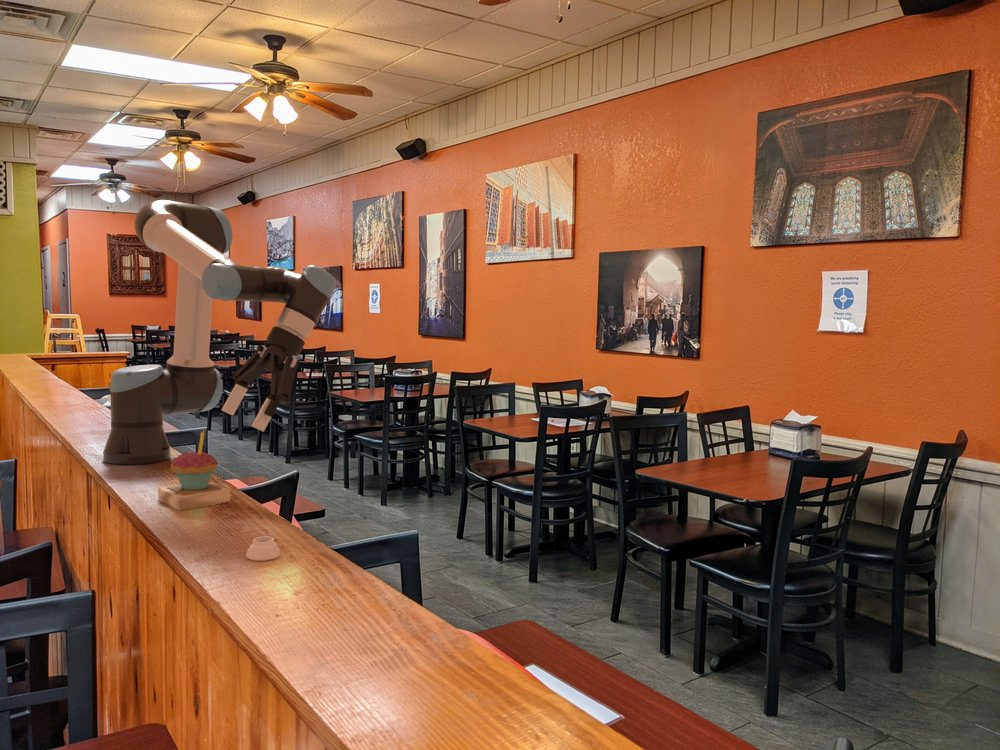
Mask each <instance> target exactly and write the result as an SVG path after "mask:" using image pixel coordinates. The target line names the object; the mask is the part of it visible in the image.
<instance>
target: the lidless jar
mask: <svg viewBox="0 0 1000 750" xmlns="http://www.w3.org/2000/svg"><path fill="white" fill-rule="evenodd" d="M279 556H281V550H280V549H279V546H278V544H277V542H275V539H274V537H272V536H268V535H266V536H257V537H255V538H253V540H252V543H251V544H250V545H249V547H248V549H247V551H246V555H245V557H246V558H247V559H249V560H251V561H255V562H267V561H272V560H274V559H277V558H278V557H279Z"/></svg>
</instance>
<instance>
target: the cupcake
mask: <svg viewBox="0 0 1000 750" xmlns="http://www.w3.org/2000/svg"><path fill="white" fill-rule="evenodd" d="M204 439H205V428H203V429H202V431H201V432H200V438H199V443H198V450H197V452H196V451H195V452H194V451H193V452H185V453H181V454H180V455H178V456H177V457H175V458H174V459H173V460H172V461H171V465H170V471H171V472H172V473H175V474H176V476H177V478H178V480H179V484H180V485H181V487H182V489H185V490H199V489H204V488H207V487H208V483H209V482H210V480H211V477H212V475H213V473H214V471H216V470H217V467H218V466H217V465H219V463H218V461H217V459H216V458H215V457H214V456H212V455H211V454H209V453H205V451H204V452H203V445H204Z"/></svg>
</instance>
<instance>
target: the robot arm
mask: <svg viewBox="0 0 1000 750" xmlns="http://www.w3.org/2000/svg"><path fill="white" fill-rule="evenodd" d="M134 231H135V234H136V236H137V237H138V239H139V240H140V241H141V242H142V243H143V244H144V245H145V246H146V247H148V248H149V249H151V250H152V251H154V252H158V253H163V254H165V255H166V256H167V257H168V258H170V259H171V260H172V261H174V262H176V263H177V264H178V265H177V266H178V267H177V268H178V269H177V284H176V303H175V305H176V306H175V319H174V321H175V322H174V339H173V354H172V356H171V357H169V359H167V360H166V369H164V367H163V366H162V365H161V364H141V365H140V364H139V365H131V366H126V367H121V368H118V369H117V370H115V371H113V372H112V374H111V376H110V384H109V385H110V386H109V391H110V392H109V393H110V431H109V434H108V437H107V440H106V442H105V445H104V449H103V453H102V461H103V462H104V463H106V464H107V463H108V464H113V465H143V464H145V465H146V464H153V463H158V462H159V463H160V462H163V461H166V460H169V459H171V447H170V444H169V441H168V438H167V436H166V433H165V430H164V416H166V415H177V414H189V413H192V414H197V413H200V412H207V411H208V412H209V411H210V410H212V409H214V407H216V406H217V405H218V403H219V402H220V400H221V398H222V394H223V390H224V389H223V388H224V385H223V383H224V381H223V379H222V374H221V373H220V371H219V370H218V369H217V368H215V362H214V361H213V360H212V359H211V358H210V347H211V346H210V345H211V344H210V342H211V329H212V328H211V327H212V313H213V311H212V309H213V300H220V301H225V302H227V301H233V302H234V301H236V302H237V301H242V302H243V301H244V302H263V303H281V304H285V305H284V307H283V309H282V310H281V312H280V313H279V315H278V318H277V319H276V320H275V325H276V326H275V325H274V326H273V327H272V328H271V330H270V332H269V334H268V335H267V337H266V341H267V343H269V346H267V347H266V346H265V345H262V344H259V345H258V347H257V348H256V350H255V352H253V354H252V355H251V356H250V357H249V358H248V359H247V360H246V361H245V362H244V364H242V365H241V366H240V368H239V369H238V370H236V372H235V373H234V374H233V376H232V379H233V380H235V385H234V387H233V389H232V390H231V392H230V393H229V395H228V397H227V399H226V401H225V403H224V405H223V406H222V408H221V411H222V412H224V413H226V414H229V415H230V416H234V415H235V413H236V411H237V409H238V408H239V406H240V404H241V402H242V400H243V399H244V397H245V395H246V393H247V391H248V390H249V389H250V388H249V385H251V384H252V383H253V382H254V381H255V380H257V379H258V378H259V377H261V376H262V375H264V373H269V372H270V373H271V378H270V379H271V380H270V394H269V395H267V397H266V399H265V400H264V402H263V404H262V406H261V408H260V409H259V410H258V413H257V415H256V417H255V418H254V420H253V422H252V424H251V427H253V429H254V428H255V429H256V430H259V431H261V432H263V433H264V431H265V430H266V428H267V426H268V424H269V422H270V421H271V419H272V417H273V416H274V414H275V413H276V410H278V409H277V408H278V407H279V406H280V404H281V405H282V404H283V403H285V404H287V403H289V401H290V398H291V393H292V389H293V384H294V381H295V375H296V372H297V370H298V367H299V365H300V360H299V359H297V358H295V357H298V356H299V355H300V353H301V352H302V350H303V348H304V346H305V345H306V344H305V341H304V340H307V339H308V338H309V337H310V335H311V333H312V331H313V329H314V327H315V325H316V324H317V322H318V321H319V319H320V317H321V315H322V314H323V312H324V310H325V308H326V306H327V304H328V302H330V299H332V295H333V294H334V291H335V288H336V286H337V284H338V282H337V279H336V278H335V277H334V275H332V274H331V273H330V272H328V271H326V270H325V269H323V268H321V267H319V266H316V265H313V264H311V265H307V267H306V268H305V269H304V270H303V271H302V273H298V272H296V271H292V270H290V269H289V270H288V269H286V268H285V267H282V266H281V267H280V266H273V265H271V266H268V267H261V266H259V267H258V266H249V265H242V264H239V263H237V262H235V260H234V261H233V260H232V259H230V257H228V256H226V255H225V254H226V253H228V251H230V247H231V246H232V244H233V229H232V224H231V221H230V219H229V218H228V216H227V215H226V213H225V212H224V211H222V210H221V209H219V208H216V207H211V206H207V205H202V204H201V205H200V204H194V203H186V202H180V201H174V200H167V199H160V200H154V201H150V202H149V203H146V204H145V205H143V206H142V207H140V209H139V211H138V212H137V213H136V215H135V218H134ZM293 356H294V357H293Z"/></svg>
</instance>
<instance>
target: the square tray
mask: <svg viewBox="0 0 1000 750" xmlns="http://www.w3.org/2000/svg"><path fill="white" fill-rule="evenodd" d="M157 491H158V493H157V495H158V497H157V500H158V501H159V502H160V503H163V504H165V505H167V506H169V507H171V508H173V509H176V510H178V511H179V512H181V510H182V511H187V510H186V509H188V510H191V509H192V508H193V509H199V508H204V506H205V507H209V506H208V505H211V506H217V505H222V504H221V503H223V504H227V503H226V502H229V503H231V489H230V488H229V489H228V488H227V487H224V486H221V485H219V484H217V483H214V482H211V481H209V483H208V487H207V488H204V489H199V490H185V489H182V487H181V484H178V485H171V486H170V485H169V486H165V487H164V486H163V487H158V488H157ZM216 504H217V505H216ZM198 507H199V508H198ZM193 509H192V510H193Z"/></svg>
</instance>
